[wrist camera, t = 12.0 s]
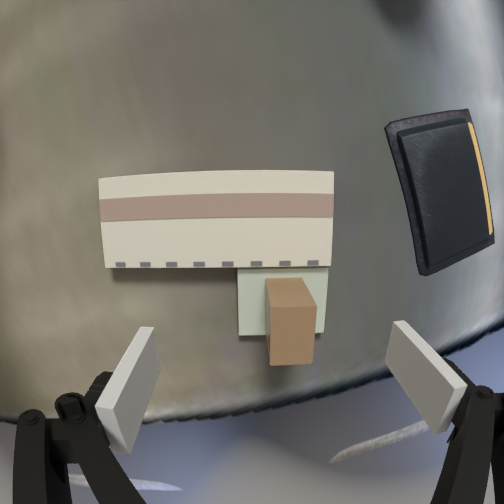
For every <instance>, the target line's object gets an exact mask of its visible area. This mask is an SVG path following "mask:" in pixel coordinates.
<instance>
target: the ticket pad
mask: <svg viewBox="0 0 504 504" xmlns="http://www.w3.org/2000/svg"><path fill="white" fill-rule="evenodd" d="M99 207H100V221H101V229H102V240H103V250H104V259H105V267H106V268H217V267H294V266H331V252H332V230H333V207H334V172H328V171H294V170H231V171H197V172H176V173H159V174H144V175H131V176H120V177H109V178H99Z"/></svg>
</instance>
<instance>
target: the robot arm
mask: <svg viewBox="0 0 504 504" xmlns="http://www.w3.org/2000/svg"><path fill="white" fill-rule="evenodd" d="M384 362H385V363H386V365H387V366H388V368H389V369H390V371H391V372H392V373H393V375H394V376H395V378H396V379H397V381H398V382H399V384H400V385H401V386H402V388H403V389H404V391H405V392H406V393H407V395H408V397H409V398H410V400H411V401H412V402H413V404H414V405H415V407H416V408H417V410H418V411H419V413H420V414H421V416H422V417H423V419H424V420H425V422H426V423H427V425H428V426H429V428H430V429H431V431H432V432H433V434H434V435H435V434H438V433H441V432H444V431H447V429H448V427H449V425H450V423H451V421H452V423H453V424H454V425H455V427H454V429H453V431H452V433H451V435H450V437H449V439H448V440H447V443H448V442H449V441H450V443H449V447H448V451H447V454H446V458H445V461H444V465H443V468H442V471H441V474H440V478H439V481H438V484H437V486H436V490H435V492H434V495H433V498H432V501H431V503H430V504H483V502H484V498H485V492H486V487H487V482H488V475H489V469H490V462H491V466H492V474H493V482H494V493H495V504H504V393H494V392H493V390H492V389H490V388H489V387H486V386H481V385H480V386H476V385H475V384H473V382H472V381H471V380H470V379H469V378H468V377H467V376H466V375H465V374H464V373H462V371H461V370H460V369H458V367H457V366H456V365H455V364H454V363H453V362H452V361H450V360H448V359H446V358H441V357H440V356H439V355H438V354H437V353H436V352H435V351H434V350H433V349H432V348H431V347H430V346H429V345H428V343H427V342H426V341H425V340H424V339H423V338H422V337H421V336H420V335H419V334H418V333H417V332H416V331H415V330H414V329H412V328H411V327H410V326H409V325H408V324H407V323H406V322H405V321H394V322H393V325H392V330H391V335H390V339H389V344H388V349H387V353H386V357H385V361H384ZM160 370H161V369H160V363H159V356H158V350H157V343H156V337H155V329H154V327H140V329H139V330H138V332H137V334H136V335H135V337H134V339H133V340H132V342H131V344H130V345H129V347H128V349H127V350H126V352H125V354H124V356H123V357H122V359H121V361H120V362H119V364H118V366H117V368H116V369H115V371H114V372H105V371H104V372H103V373H101V374H100V375H99V376H97V377H96V379H95V380H94V382H93V383H92V385H91V387H90V388H89V391H87V393H86V395H85V396H84V397H83V395H81V394H79V393H73V392H71V393H66V394H63V395H61V396H60V397H58V398H57V399H56V401H55V409H56V411H57V413H58V415H59V418H57V419H46V418H45V415H44V414H43V413H42V412H41V411H39V410H36V409H31V410H27V411H25V412H23V413H22V414H21V415H20V416H19V418H18V421H17V431H16V439H15V450H14V464H13V465H14V466H13V504H72V498H71V492H70V485H69V477H68V468H67V463H79V465H80V467H81V469H82V471H83V473H84V476H85V478H86V480H87V482H88V484H89V486H90V487H91V489H92V491H93V493H94V495H95V497H96V499H97V500H98V502H99V504H146V503H145V501H144V500H143V498H142V497H141V496H140V494H139V493H138V491H137V490H136V489H135V487H134V486H133V484H132V483H131V481H130V480H129V478H128V477H127V475H126V474H125V472H124V471H123V469H122V468H121V466H120V464H119V463H118V461H117V460H116V458H115V456H114V455H113V453H118V454H123V455H129V456H130V455H131V452H132V449H133V445H134V443H135V440H136V437H137V434H138V431H139V428H140V425H141V422H142V420H143V417H144V414H145V411H146V408H147V405H148V403H149V400H150V397H151V394H152V392H153V389H154V386H155V383H156V381H157V378H158V375H159V373H160ZM109 445H110V446H111V449H112V451H113V453H112V452H111V450H110V448H109Z"/></svg>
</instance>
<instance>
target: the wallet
mask: <svg viewBox="0 0 504 504" xmlns="http://www.w3.org/2000/svg"><path fill="white" fill-rule="evenodd" d="M384 129H385V132H386V136H387V139H388V143H389V146H390V150H391V153H392V156H393V160H394V163H395V166H396V170H397V173H398V177H399V180H400V184H401V187H402V191H403V195H404V199H405V203H406V207H407V212H408V216H409V221H410V226H411V232H412V237H413V243H414V249H415V256H416V263H417V267H418V271H419V274H420V275H424V276H428V275H430V274H433V273H435V272H438V271H440V270H442V269H444V268H446V267H448V266H450V265H452V264H454V263H456V262H458V261H460V260H462V259H464V258H466V257H468V256H470V255H473V254H475V253H477V252H479V251H481V250H483V249H484V248H486V247H488V246H490V245H492V244H494V243H495V240H494V227H493V220H492V213H491V206H490V199H489V193H488V187H487V181H486V176H485V171H484V166H483V162H482V157H481V153H480V149H479V145H478V141H477V137H476V133H475V130H474V126H473V122H472V119H471V116H470V113H469V109H463V110H450V111H444V112H437V113H431V114H426V115H420V116H415V117H410V118H405V119H401V120H397V121H393V122H390V123H389V124H388V125H387V126H386V127H384Z"/></svg>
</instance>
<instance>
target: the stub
mask: <svg viewBox="0 0 504 504" xmlns="http://www.w3.org/2000/svg"><path fill="white" fill-rule="evenodd" d="M237 273H238V315H239V335H266V340H267V347H268V355H269V363H270V366H277V365H298V364H312V360H313V350H314V339H315V333H323V332H324V321H325V310H326V297H327V283H328V267H327V266H294V267H238V269H237Z"/></svg>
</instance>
